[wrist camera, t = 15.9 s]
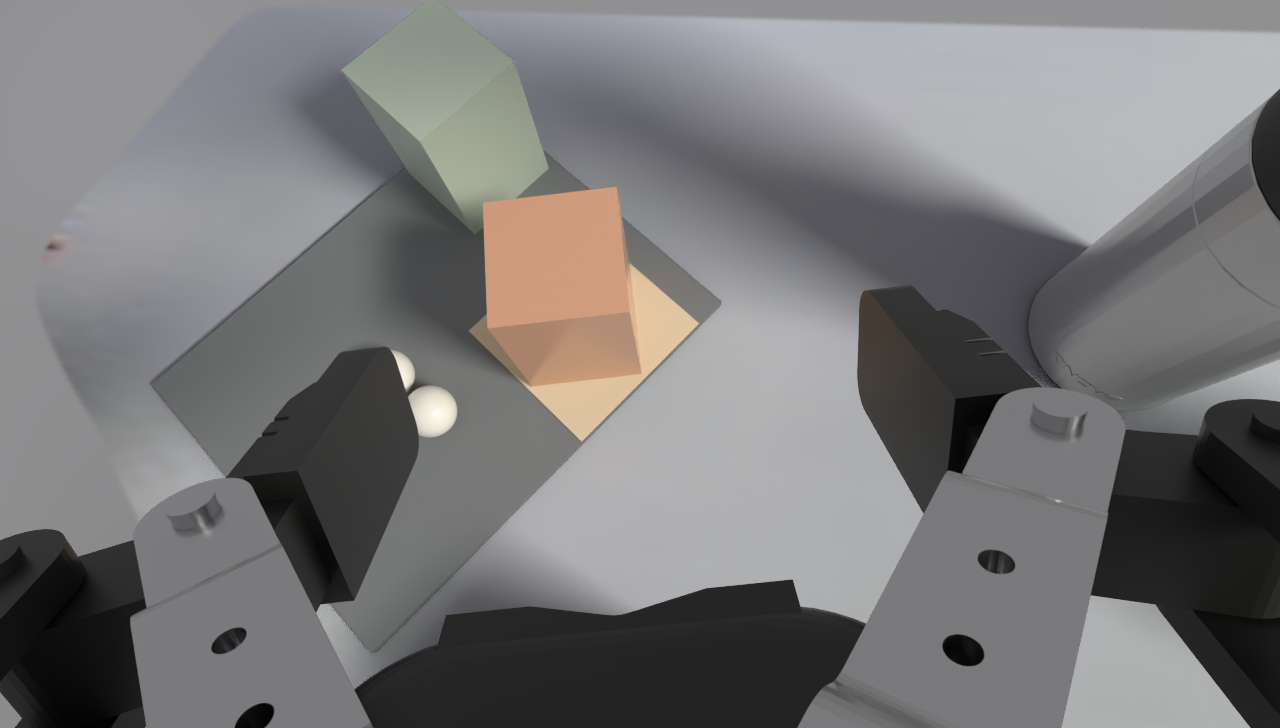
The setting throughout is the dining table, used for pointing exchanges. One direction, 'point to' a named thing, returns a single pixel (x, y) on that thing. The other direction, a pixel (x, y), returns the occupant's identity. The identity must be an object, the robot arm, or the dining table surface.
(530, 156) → the grey-green block
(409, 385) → the marble
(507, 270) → the orange block
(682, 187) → the dining table surface
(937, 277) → the dining table surface
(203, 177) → the dining table surface
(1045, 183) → the dining table surface
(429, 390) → the marble
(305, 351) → the mat
